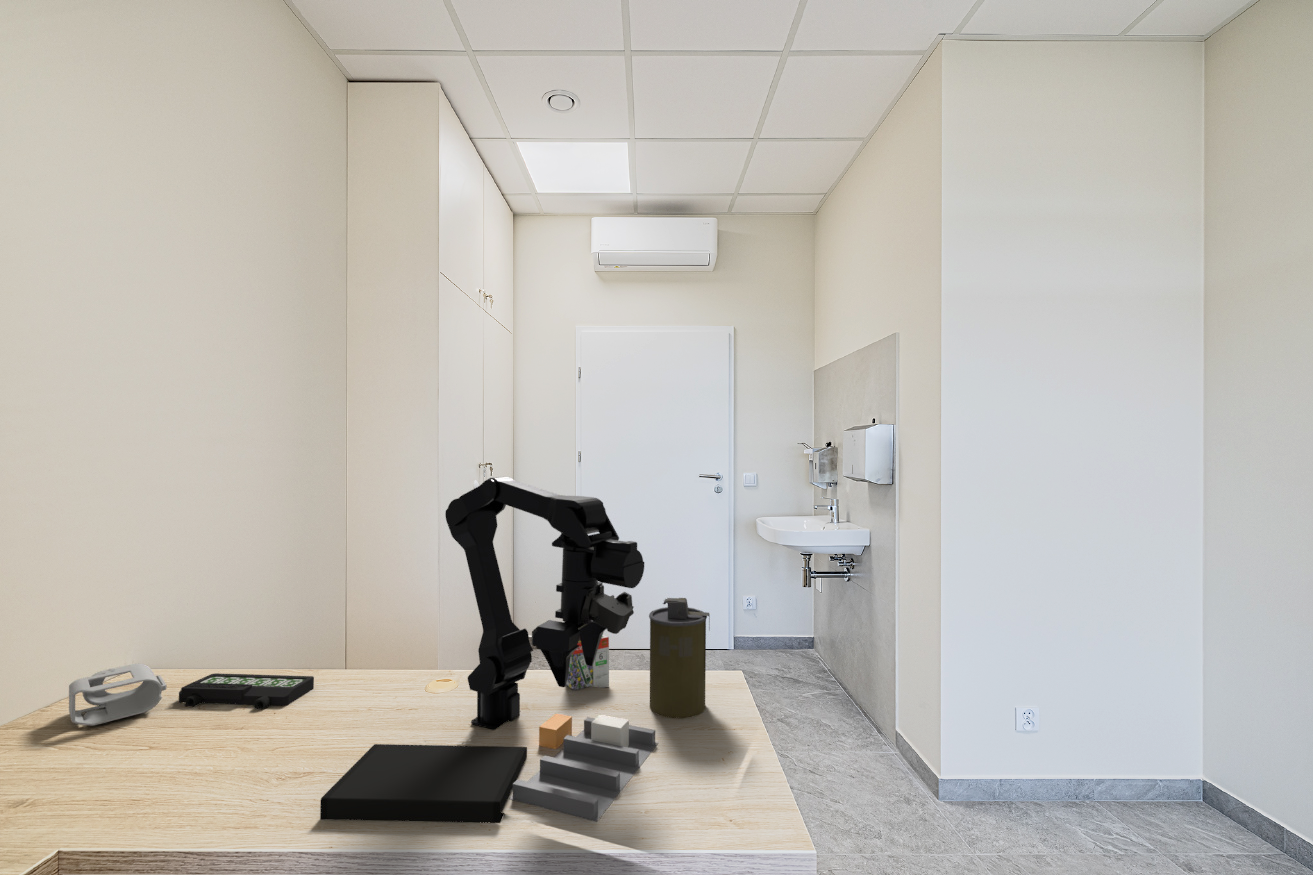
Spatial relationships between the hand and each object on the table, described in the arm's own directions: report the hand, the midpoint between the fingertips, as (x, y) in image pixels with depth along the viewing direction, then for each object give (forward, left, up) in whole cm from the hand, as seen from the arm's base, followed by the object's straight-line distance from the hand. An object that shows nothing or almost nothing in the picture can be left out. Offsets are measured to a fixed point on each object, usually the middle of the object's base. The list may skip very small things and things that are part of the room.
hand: (576, 675), depth 96 cm
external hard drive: (-13, -18, -12) cm, 25 cm away
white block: (+6, 0, -10) cm, 12 cm away
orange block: (-3, -1, -11) cm, 12 cm away
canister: (+11, +18, -11) cm, 24 cm away
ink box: (-9, +21, -11) cm, 25 cm away
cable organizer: (-82, -19, -12) cm, 85 cm away
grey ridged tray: (+6, -7, -11) cm, 14 cm away
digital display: (-67, -7, -12) cm, 69 cm away
